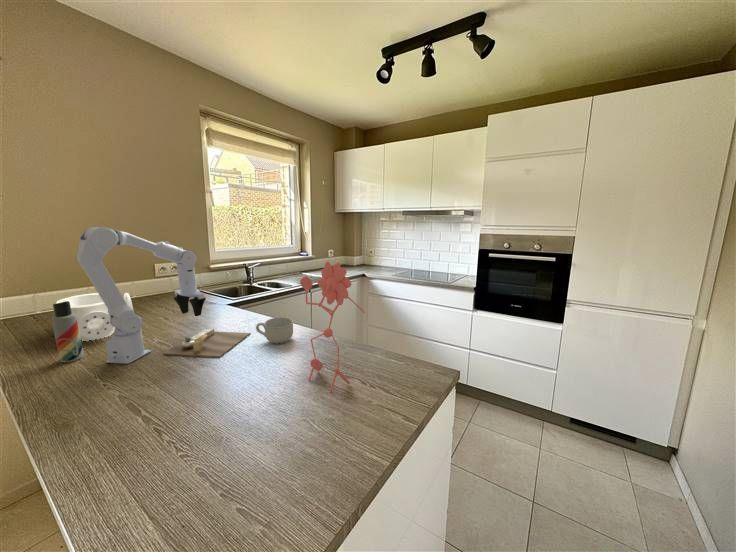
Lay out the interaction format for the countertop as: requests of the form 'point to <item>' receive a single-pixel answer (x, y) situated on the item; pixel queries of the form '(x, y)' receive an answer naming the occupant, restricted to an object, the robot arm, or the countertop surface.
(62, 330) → the lotion bottle
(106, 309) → the housing
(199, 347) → the brass keeper
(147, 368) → the countertop surface
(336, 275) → the figurine
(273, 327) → the teacup
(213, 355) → the walnut board
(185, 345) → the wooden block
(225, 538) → the countertop surface
